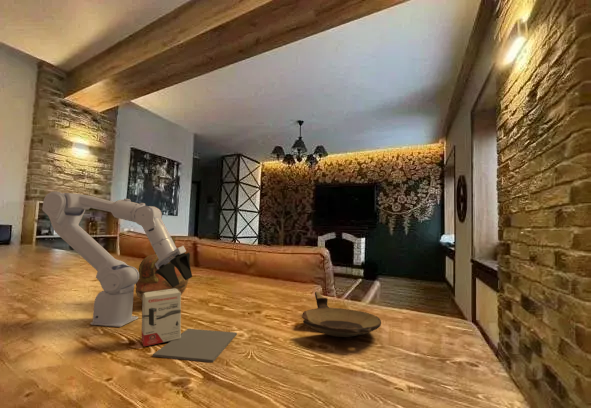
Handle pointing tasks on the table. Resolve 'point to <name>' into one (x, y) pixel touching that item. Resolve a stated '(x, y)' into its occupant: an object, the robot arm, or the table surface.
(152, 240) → the robot arm
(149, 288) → the ceramic vessel
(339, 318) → the broken handled dish
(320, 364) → the table surface
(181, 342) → the mat
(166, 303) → the ink box
